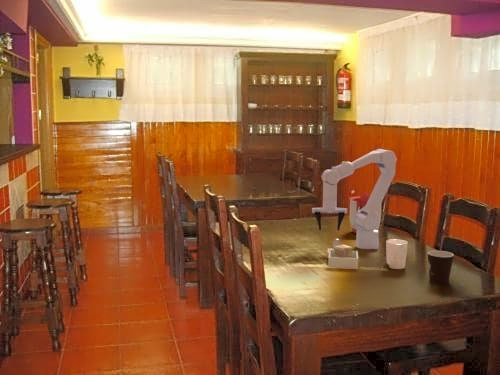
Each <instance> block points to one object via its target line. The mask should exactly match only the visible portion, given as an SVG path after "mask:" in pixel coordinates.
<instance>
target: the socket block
mask: <svg viewBox="0 0 500 375" xmlns="http://www.w3.org/2000/svg"><path fill="white" fill-rule="evenodd" d="M352 251H353V247H352V246H350V245H346V244H339V246H335V257H342V258H352Z"/></svg>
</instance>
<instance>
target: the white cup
mask: <svg viewBox="0 0 500 375" xmlns="http://www.w3.org/2000/svg"><path fill="white" fill-rule="evenodd" d="M408 242H409V241H407V240H404V239H398V238H397V239H396V238H391V239H387V240H386V242H385V247H386V248H385V251H386V256H385V258H386V264H387V266H388V268H389V269H392V270H402V269H405V268H406V260H407V253H408Z"/></svg>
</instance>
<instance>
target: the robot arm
mask: <svg viewBox="0 0 500 375" xmlns="http://www.w3.org/2000/svg"><path fill="white" fill-rule="evenodd" d="M397 161H398V158H397V156H396V154H395V152H394V151H392V150H390V149H389V150H386V149H382V148H377V149H376V150H372V151H370V152H369V153H366V154H364V155H363V156H361V157H359V158H357V159H355V160H354V161H352V162H350V161H342V162H341V163H340V164H338V165H336V166H332V167H331V169H325V170H324V171H323V172H322V174H321V175H320V177H321V180H322V182H323V186H322V187H323V188H322V207H312V208H311V214H314V215H315V218H316V221H317V225H318V230H319V231H322V224H321V221H322V220H321V219H322V214H337V226H336V228H337V231H340V228H341V225H342V223H343V222H342V221H343V220H344V219H345V214H346V215H347V214H348V208H346V207H345V208H344V207H337V204H338V200H337V199H338V198H337V197H338V196H337V195H338V183H339V181H340V180H343V179H344V178H347V177H349V176H351V175H353V174H354V173H355V170H356V169H357V170H358V169H359V168H362V167H364V166H367V165H370V164H376V165H377V166H378V168H379V171H380V176H379V177H378V179H377V181H376V183H375V185H374V187H373V189H372V192H371V193H370V194H369V195H370V198H369V200H368V202H367V204H366V206H364V207H363V208H362V209H361V210H360V212H359V213H358V214H357V215H356V216H355V223H356V224H357V234H356V238H355V239H356V240H355V244H356V245H355V247H356V248H358V249H359V250H360V249H362V250H378V249H379V246H380V242H379V229H378V230H374V228H375V227H376V224H377V218H378V212H377V210H378V208H379V206H380V204H381V202H383V200H384V198H385V197H386V194H387V192H388V190H389V188H390V186H391V184H392V181H393V179H394V177H395V176H396V168H397V167H396V164H397ZM381 205H382V204H381Z"/></svg>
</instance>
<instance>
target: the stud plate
mask: <svg viewBox="0 0 500 375" xmlns="http://www.w3.org/2000/svg"><path fill="white" fill-rule="evenodd" d="M339 245H340V238H333V245H332V246H333V248H330V247H329V248H327V253H328V254H329V250H335V246H339Z"/></svg>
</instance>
